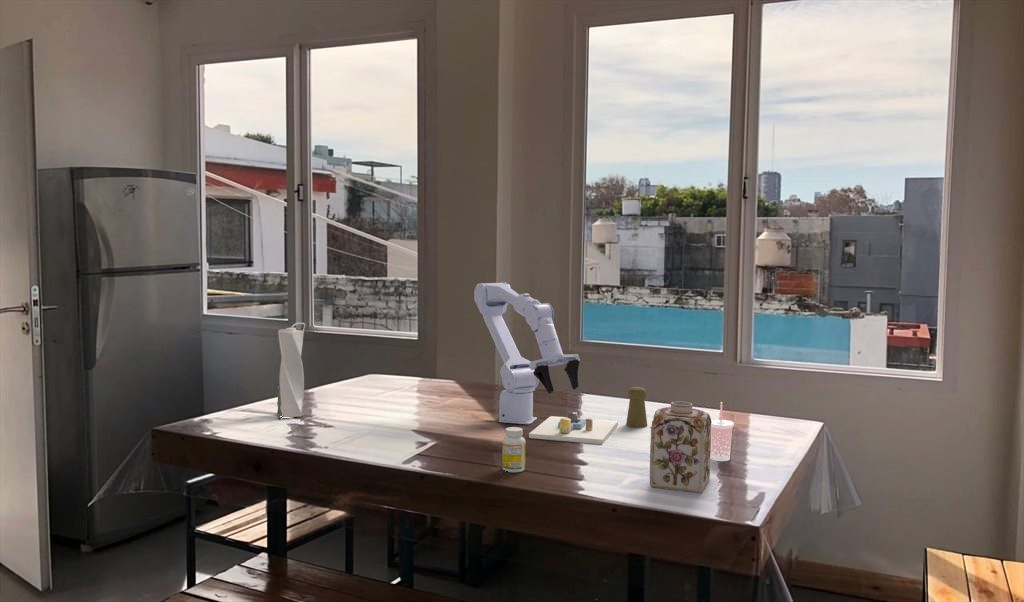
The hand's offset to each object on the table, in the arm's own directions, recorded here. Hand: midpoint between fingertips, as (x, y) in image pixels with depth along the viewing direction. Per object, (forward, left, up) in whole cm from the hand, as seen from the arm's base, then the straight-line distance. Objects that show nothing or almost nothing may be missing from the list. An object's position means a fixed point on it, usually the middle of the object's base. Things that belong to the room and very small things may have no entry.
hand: (563, 390), depth 222 cm
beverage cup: (+42, -9, -13) cm, 45 cm away
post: (+1, +7, -13) cm, 14 cm away
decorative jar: (+35, -32, -13) cm, 49 cm away
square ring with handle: (+1, +4, -11) cm, 12 cm away
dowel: (+6, +4, -13) cm, 15 cm away
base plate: (+2, +6, -13) cm, 14 cm away
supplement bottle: (-3, -34, -13) cm, 36 cm away
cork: (+17, +19, -13) cm, 28 cm away
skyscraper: (-82, -3, -13) cm, 83 cm away
